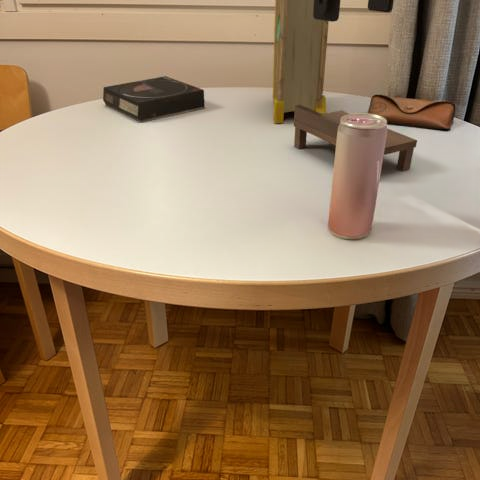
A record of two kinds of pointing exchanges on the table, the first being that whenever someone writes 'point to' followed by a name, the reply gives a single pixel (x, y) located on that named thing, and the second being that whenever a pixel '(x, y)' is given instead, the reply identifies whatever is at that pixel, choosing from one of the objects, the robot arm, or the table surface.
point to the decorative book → (298, 58)
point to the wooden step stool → (328, 128)
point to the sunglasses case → (413, 112)
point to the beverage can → (356, 174)
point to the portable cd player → (154, 98)
